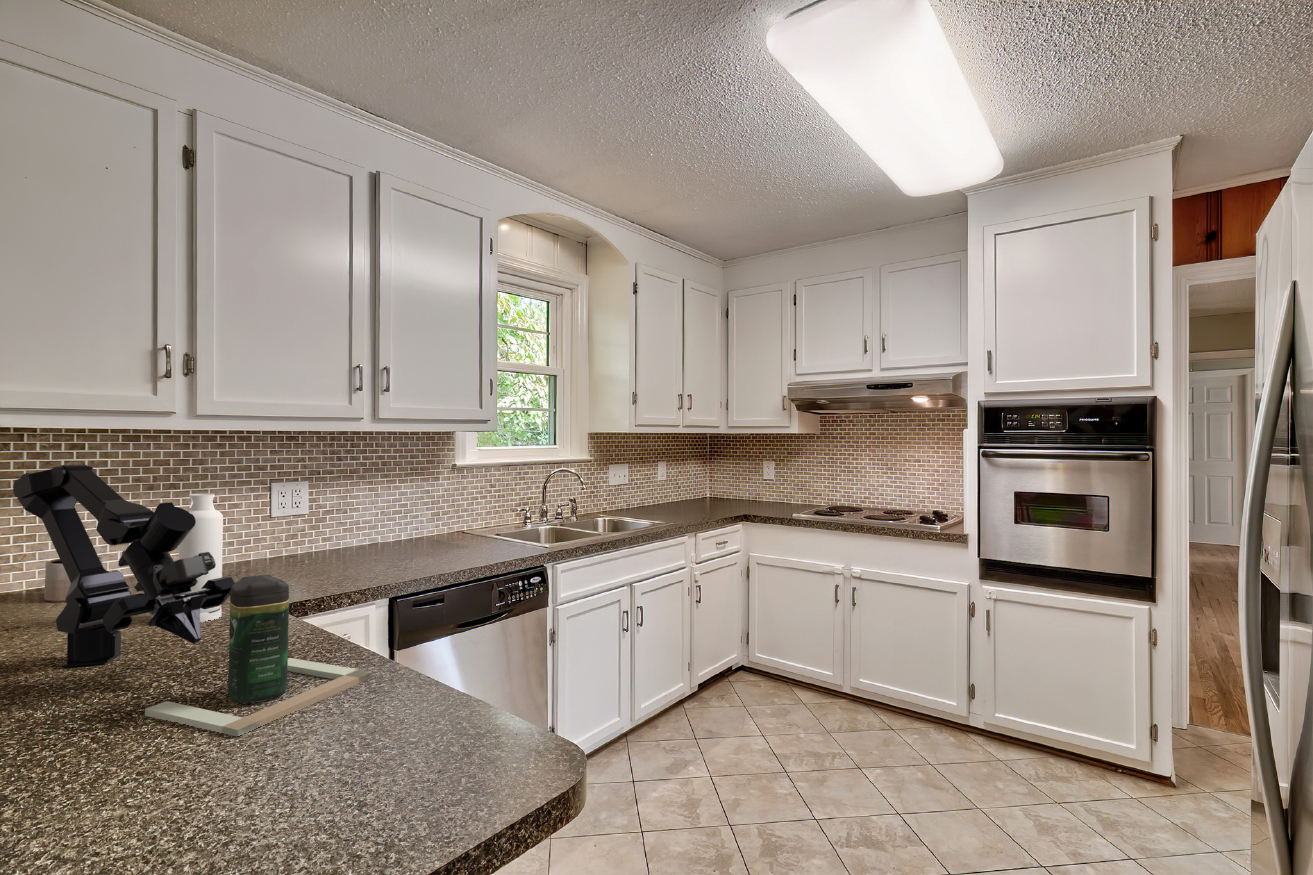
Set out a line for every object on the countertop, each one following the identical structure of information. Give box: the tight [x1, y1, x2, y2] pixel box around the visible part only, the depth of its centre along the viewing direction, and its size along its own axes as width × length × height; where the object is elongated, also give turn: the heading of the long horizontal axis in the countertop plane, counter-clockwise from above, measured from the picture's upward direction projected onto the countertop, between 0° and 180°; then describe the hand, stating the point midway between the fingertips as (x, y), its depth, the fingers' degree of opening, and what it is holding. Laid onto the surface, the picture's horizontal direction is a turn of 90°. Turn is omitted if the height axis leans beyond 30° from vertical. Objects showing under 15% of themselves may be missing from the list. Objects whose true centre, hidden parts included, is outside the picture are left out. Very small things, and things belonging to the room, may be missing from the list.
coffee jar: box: [227, 574, 290, 704], centre depth 102 cm, size 10×8×19 cm
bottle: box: [178, 493, 224, 623], centre depth 145 cm, size 8×8×28 cm
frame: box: [144, 657, 373, 737], centre depth 102 cm, size 19×24×1 cm
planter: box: [43, 556, 103, 603], centre depth 163 cm, size 11×11×10 cm
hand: (197, 641), depth 107 cm, fingers closed
